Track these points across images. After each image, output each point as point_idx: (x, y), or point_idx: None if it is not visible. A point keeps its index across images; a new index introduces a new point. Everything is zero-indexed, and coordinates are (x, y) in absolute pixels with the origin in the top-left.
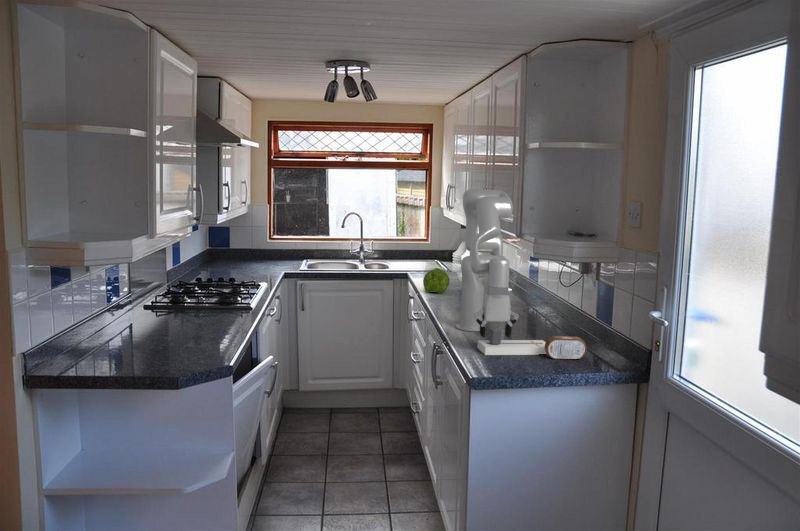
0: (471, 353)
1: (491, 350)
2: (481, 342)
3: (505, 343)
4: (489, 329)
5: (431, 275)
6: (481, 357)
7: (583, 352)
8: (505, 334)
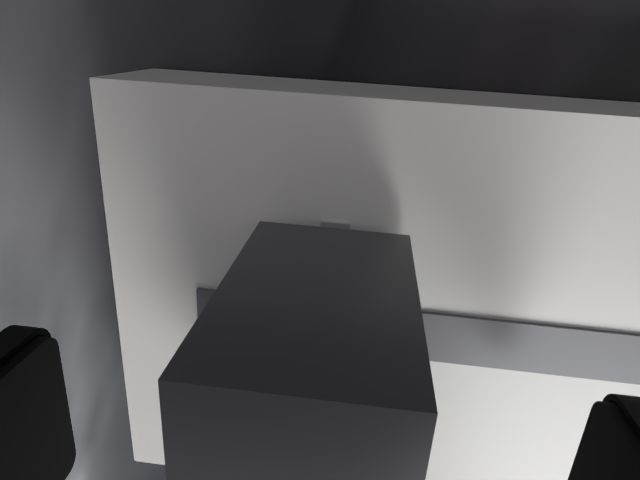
0: (36, 311)
1: None
2: (128, 239)
3: (516, 359)
4: (176, 366)
5: None
6: (119, 448)
7: None
8: (601, 421)
